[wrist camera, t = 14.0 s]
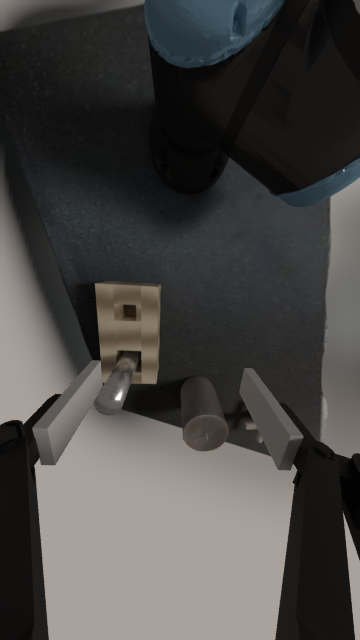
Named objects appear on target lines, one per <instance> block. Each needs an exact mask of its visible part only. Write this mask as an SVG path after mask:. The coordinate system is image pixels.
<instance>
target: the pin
mask: <svg viewBox="0 0 360 640" xmlns="http://www.w3.org/2000/svg"><path fill="white" fill-rule="evenodd" d="M140 357H141V351H128V350H125V351H124V353H123V354H122V356H121V358H120V359H119V361H118V363H117V364H116V366H115V368H114V369H113V371H112V373H111V374H110V376H109V378H108V379H107V381H106V383H105V384H104V386H103V388H102V389H101V391H100V393H99V394H98V396H97V398H96V399H95V407H96V409H97V410H98V411H99V412H100V413H102V414H104V415H114V414H117V413H118V412H119V411H120V410H121V408H122V406H123V403H124V400H125V397H126V395H127V392H128V389H129V387H130V384H131V381H132V379H133V376H134V373H135V370H136V368H137V365H138V362H139V360H140Z"/></svg>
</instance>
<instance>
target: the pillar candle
mask: <svg viewBox="0 0 360 640" xmlns="http://www.w3.org/2000/svg"><path fill="white" fill-rule="evenodd" d="M180 393H181V394H180V396H181V411H182V425H183V440H184V441H185V442H186V444H187V445H188V446H189V447H191V448H192V449H194V450H197V451H210V450H214V449H216V448H218V447H220V446H221V445H222V444H223V443H224V442H225V440H226V439H227V437H228V432H229V431H228V426H227V423H226V420H225V417H224V415H223V412H222V409H221V406H220V403H219V400H218V397H217V395H216V392H215V389H214V386H213V384H212V382H211V381H210V380H209V379H207V378H205V377H202V376H194V377H191V378H189V379H187V380H186V381H185V382H184V383H183V385H182V387H181V391H180Z"/></svg>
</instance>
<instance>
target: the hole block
mask: <svg viewBox="0 0 360 640" xmlns="http://www.w3.org/2000/svg"><path fill="white" fill-rule="evenodd" d="M95 290H96V303H97V316H98V329H99V342H100V355H101V368H102V381H103V383H106V381H107V379H108V378H109V376H110V374H111V373H112V371H113V369H114V368H115V366H116V364H117V363H118V361H119V359H120V358H121V356H122V354H123V353H124V351H125V350H128V351H141V357H140V360H139V362H138V365H137V368H136V370H135V373H134V376H133V379H132V381H131V383H135V384H156V381H157V374H158V367H159V329H160V291H161V284H149V283H130V282H112V281H107V282H100V283H95Z"/></svg>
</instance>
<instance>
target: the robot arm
mask: <svg viewBox="0 0 360 640" xmlns="http://www.w3.org/2000/svg"><path fill="white" fill-rule="evenodd" d="M144 10H145V11H144V15H145V23H146V27H147V32H148V39H149V48H150V57H151V66H152V75H153V84H154V94H155V103H156V106H155V109H154V113H153V117H152V121H151V126H150V149H151V154H152V159H153V163H154V166H155V168H156V170H157V172H158V174H159V176H160V177H161V179H162V180H163V181H164V182H165V183H166V184H167V185H168V186H169V187H171V188H172V189H174V190H176V191H178V192H180V193H184V194H196V193H200V192H203V191H205V190H207V189H208V188H210V187H211V186H212V185H213V184H214V183H215V182H216V181H217V180H218V179H219V177H220V176H221V174H222V173H223V171H224V169H225V167H226V165H227V162H228V160H229V157H230V158H231V159H232V160H233V161H235V162H236V163H237V164H238V165H240V166H241V167H242V168H243V169H244V170H246V171H247V172H248V173H249V174H251V175H252V176H253V177H254V178H256V179H257V180H258V181H259V182H260V183H262V184H263V185H264V186H265V187H267V188H268V189H269V192H270V193H271V194H272V195H273V196H276V197H279V198H281V199H282V200H283V201H285V202H286V203H288V204H289V205H291V206H296V207H306V206H310V205H313V204H316V203H318V202H321V201H323V200H325V199H327V198H329V197H330V196H332V195H334V194H335V193H337V192H339V191H341V190H342V189H344V188H345V187H347V186H348V185H350V184H351V183H353V182H354V181H355V180H357V179H358V178H359V177H360V0H145V3H144ZM102 387H103V386H102V373H101V361H94V360H92V361H91V362H90V363H89V364H88V365H87V366H86V368H85V369H84V370H83V371H82V372H81V373H80V375H79V376H78V377H77V378H76V379H75V380H74V381H73V382H72V383H71V385H70V386H69V387H68V388H67V389H66V390H65V391H64V393H63V394H55V395H53V396H52V397H50V398H49V399H48V400H46V402H45V403H44V404H43V405H42V406H41V407H40V408H39V409H38V410H37V412H35V413H34V414H33V415H32V416H31V417H30V418H29V419H28V420H27V421H26V422H25V423H24V425H23V423H22V422H21V421H19V420H12V421H8V422H5V423H3V424H1V425H0V640H49V637H48V625H47V613H46V600H45V588H44V577H43V563H42V550H41V538H40V526H39V513H38V501H37V489H36V476H35V467H34V465H35V463H36V462H37V461H38V459H39V458H40V462H41V465H55V464H56V463H57V461H58V460H59V458H60V456H61V455H62V453H63V451H64V450H65V448H66V446H67V445H68V443H69V441H70V440H71V438H72V436H73V435H74V433H75V431H76V430H77V428H78V426H79V425H80V423H81V421H82V420H83V418H84V417H85V415H86V413H87V411H88V410H89V408H90V407H91V405H92V403H93V401H94V400H95V398H96V397H97V395H98V393H99V392H100V390H101V388H102ZM239 393H240V395H241V397H242V399H243V401H244V403H245V405H246V407H247V409H248V411H249V413H250V415H251V417H252V419H253V421H254V423H255V425H256V427H257V429H258V431H259V433H260V435H261V437H262V439H263V441H264V443H265V445H266V447H267V449H268V451H269V453H270V455H271V457H272V458H273V460H274V463H275V464H276V466H277V469H278V470H291V467H292V465H293V464H294V465H295V467H296V468H297V470H298V471H297V473H296V476H295V478H294V480H293V483H294V484H295V486H294V494H293V502H292V511H291V518H290V527H289V535H288V543H287V551H286V559H285V567H284V575H283V583H282V591H281V599H280V607H279V615H278V623H277V631H276V639H275V640H355V634H354V624H353V613H352V602H351V593H350V582H349V571H348V560H347V550H346V539H345V529H344V518H343V512H344V515H345V518H346V521H347V524H348V527H349V530H350V533H351V536H352V539H353V542H354V545H355V548H356V550H357V554H358V557H359V560H360V454H358V453H356V454H353V456H352V458H351V459H350V458H347V457H344V456H341V455H337V454H335V453H334V452H333V450H331V449H330V448H329V447H328V446H326V445H325V444H323V443H322V442H319V441H316V440H315V438H314V437H313V436H312V435H311V433H310V432H309V431H308V430H307V428H306V427H305V426H304V425H303V424H302V422H301V421H300V420H299V419H298V417H297V416H295V414H294V412H293V411H292V410H291V409H290V408H289V407H288V406H287V405H285V404H284V403H278V402H277V400H276V399H275V398H274V396H273V395H272V394H271V392H270V391H269V390H268V388H267V387H266V386H265V384H264V383H263V382H262V380H261V379H260V378H259V376H258V375H257V374H256V372H255V371H254V370H253V368H244V373H243V377H242V382H241V387H240V391H239Z"/></svg>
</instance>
